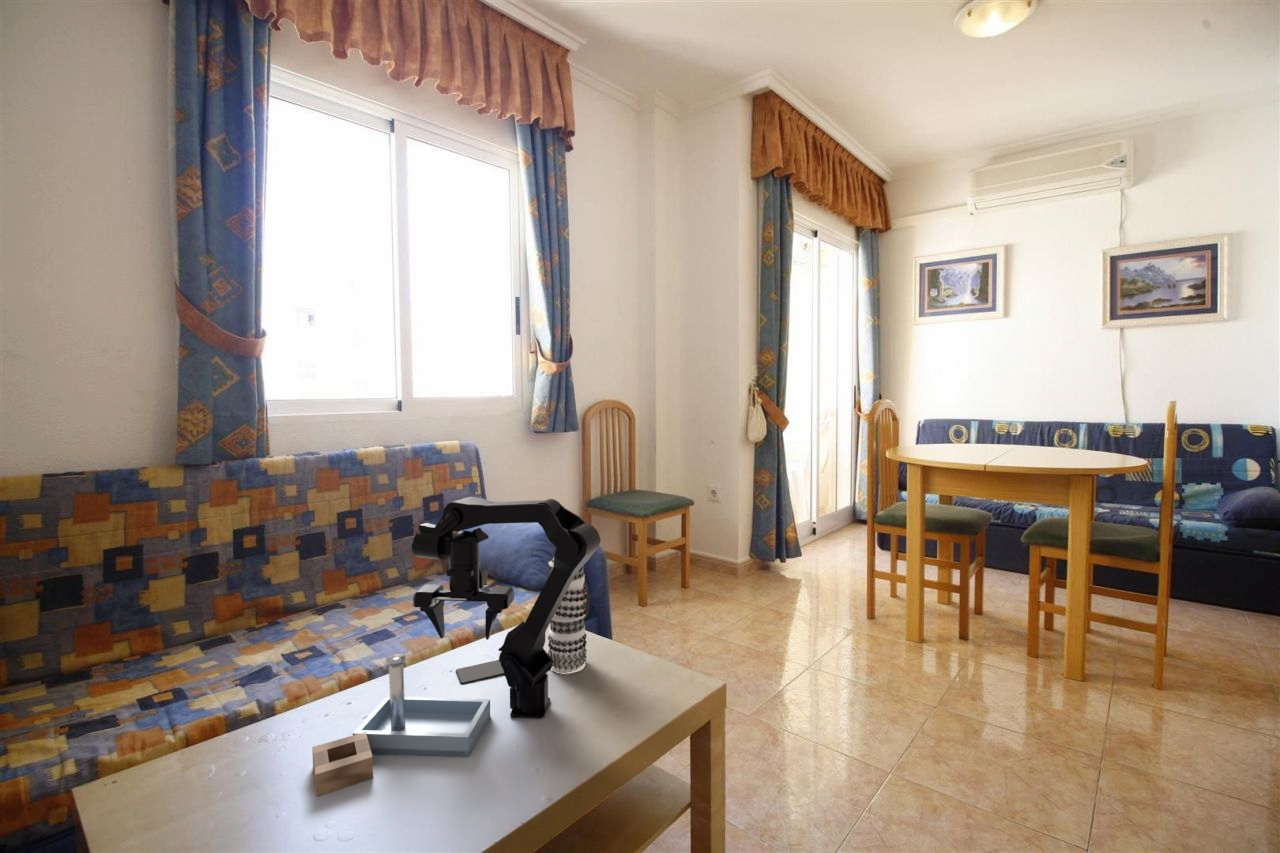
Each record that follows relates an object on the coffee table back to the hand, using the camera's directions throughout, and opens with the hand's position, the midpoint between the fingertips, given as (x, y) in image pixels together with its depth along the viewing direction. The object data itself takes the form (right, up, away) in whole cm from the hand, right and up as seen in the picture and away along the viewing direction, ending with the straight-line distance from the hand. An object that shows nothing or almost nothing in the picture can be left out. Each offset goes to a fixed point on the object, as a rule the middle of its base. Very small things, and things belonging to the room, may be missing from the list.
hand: (465, 638), depth 117 cm
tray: (-4, -13, -12) cm, 18 cm away
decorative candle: (+19, -11, +14) cm, 26 cm away
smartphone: (+3, -12, +12) cm, 17 cm away
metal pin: (-9, -12, -12) cm, 19 cm away
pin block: (-13, -14, -22) cm, 29 cm away
